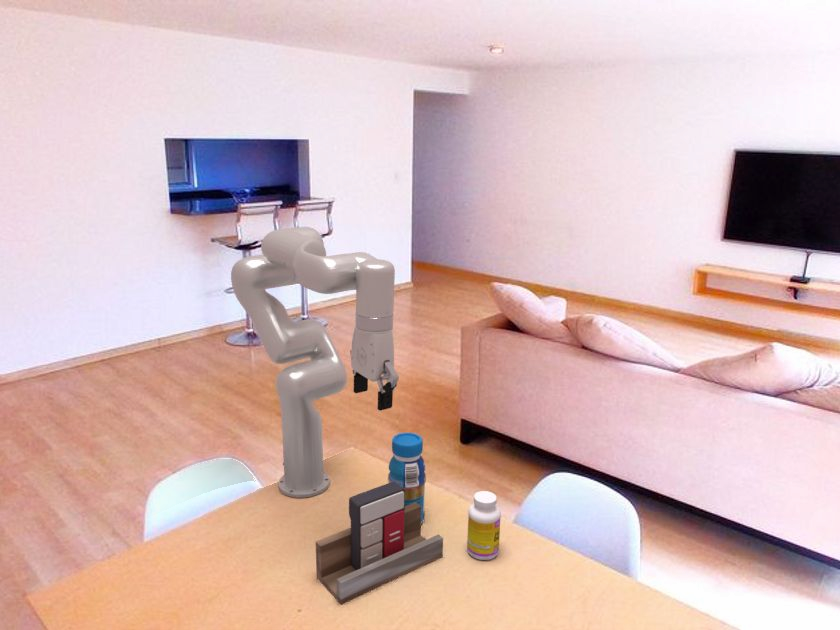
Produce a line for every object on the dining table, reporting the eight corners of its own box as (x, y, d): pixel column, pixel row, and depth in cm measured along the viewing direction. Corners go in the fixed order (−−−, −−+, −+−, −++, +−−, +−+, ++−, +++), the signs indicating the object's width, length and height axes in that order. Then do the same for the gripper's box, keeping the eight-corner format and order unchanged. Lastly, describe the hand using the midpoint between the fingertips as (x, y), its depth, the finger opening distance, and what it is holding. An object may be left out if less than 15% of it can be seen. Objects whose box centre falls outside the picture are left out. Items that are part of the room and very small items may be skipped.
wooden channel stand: (316, 577, 124) (315, 541, 122) (415, 534, 138) (415, 502, 136) (341, 604, 117) (340, 566, 115) (442, 556, 131) (443, 522, 129)
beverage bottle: (381, 524, 142) (381, 442, 136) (397, 505, 149) (397, 427, 144) (416, 533, 138) (417, 450, 133) (430, 513, 146) (432, 434, 141)
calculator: (360, 575, 123) (360, 507, 119) (349, 564, 126) (348, 497, 122) (406, 555, 129) (407, 489, 126) (394, 544, 133) (395, 480, 129)
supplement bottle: (497, 563, 129) (500, 507, 126) (464, 559, 130) (467, 503, 127) (499, 544, 135) (502, 490, 132) (469, 540, 136) (471, 486, 133)
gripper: (337, 313, 132) (336, 389, 136) (381, 336, 118) (378, 420, 123) (368, 308, 136) (366, 382, 141) (414, 330, 122) (410, 411, 127)
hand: (372, 400), depth 132 cm, fingers open, 9 cm apart
